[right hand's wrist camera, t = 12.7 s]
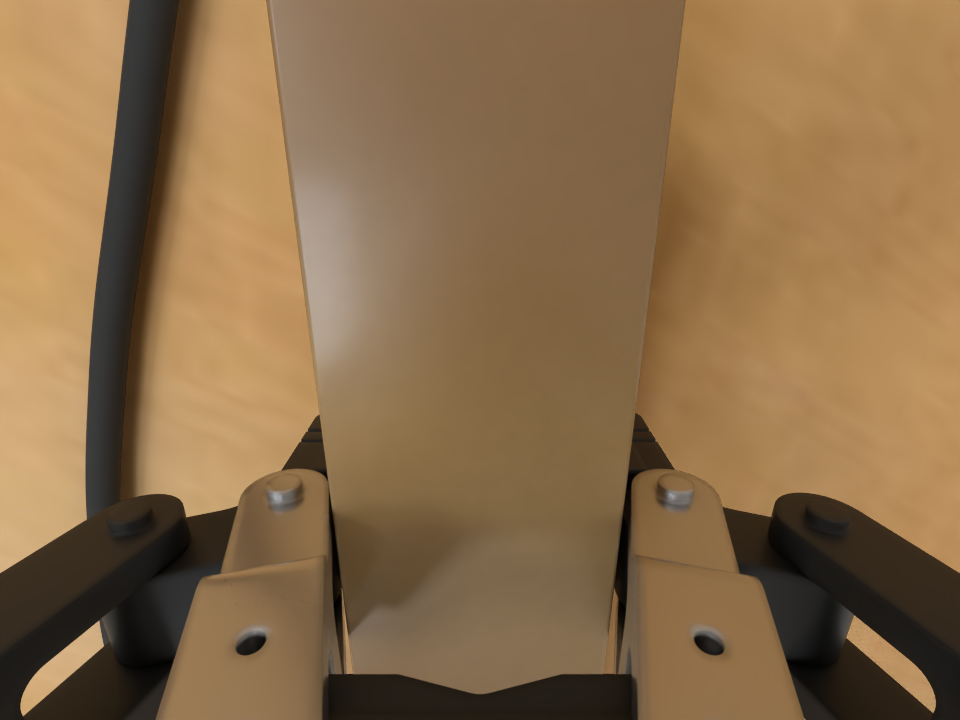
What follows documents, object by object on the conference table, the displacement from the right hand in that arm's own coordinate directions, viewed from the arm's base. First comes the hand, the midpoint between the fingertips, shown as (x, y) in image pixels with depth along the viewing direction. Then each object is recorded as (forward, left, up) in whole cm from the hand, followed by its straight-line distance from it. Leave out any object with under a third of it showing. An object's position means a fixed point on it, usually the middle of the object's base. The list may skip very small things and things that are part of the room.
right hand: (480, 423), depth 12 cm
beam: (+32, -7, -2) cm, 33 cm away
